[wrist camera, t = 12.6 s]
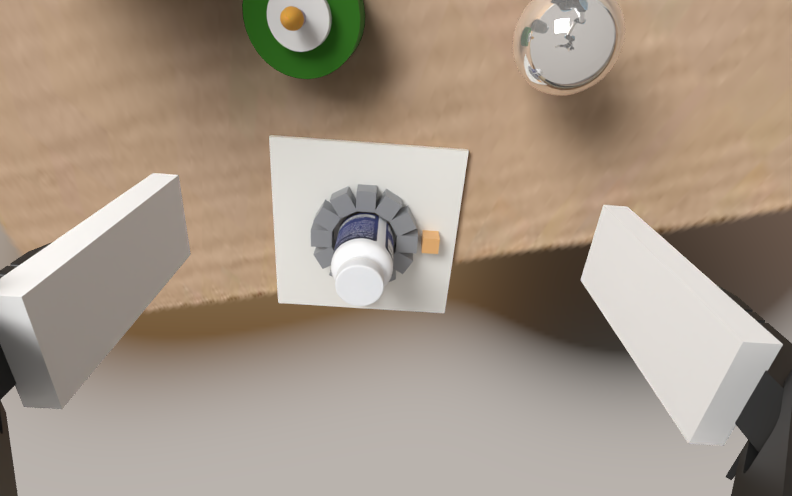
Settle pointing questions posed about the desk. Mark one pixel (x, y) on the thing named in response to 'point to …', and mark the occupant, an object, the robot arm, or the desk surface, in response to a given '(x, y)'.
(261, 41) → the candle
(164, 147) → the desk surface
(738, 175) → the desk surface
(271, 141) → the socket
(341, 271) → the pill bottle
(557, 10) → the light bulb
